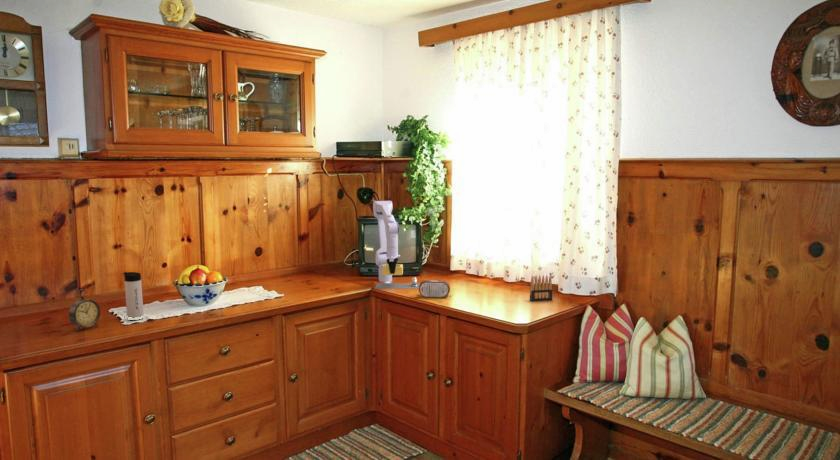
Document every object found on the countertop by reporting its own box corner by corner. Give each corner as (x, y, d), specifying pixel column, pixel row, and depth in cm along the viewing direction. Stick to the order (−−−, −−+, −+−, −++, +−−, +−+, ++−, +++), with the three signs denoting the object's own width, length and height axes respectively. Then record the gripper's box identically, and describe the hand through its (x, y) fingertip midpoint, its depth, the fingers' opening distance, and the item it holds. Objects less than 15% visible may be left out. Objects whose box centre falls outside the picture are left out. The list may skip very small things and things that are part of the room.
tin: (450, 296, 283) (450, 279, 282) (449, 298, 280) (449, 281, 279) (419, 296, 285) (418, 279, 284) (418, 297, 282) (418, 280, 281)
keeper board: (376, 285, 310) (376, 283, 310) (426, 285, 309) (426, 283, 309) (374, 290, 297) (374, 288, 297) (426, 290, 296) (426, 288, 296)
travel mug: (130, 317, 250) (126, 271, 247) (146, 316, 250) (143, 270, 248) (123, 321, 243) (120, 274, 241) (140, 320, 244) (137, 273, 241)
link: (383, 271, 307) (383, 264, 307) (403, 271, 307) (402, 264, 307) (382, 275, 297) (382, 267, 297) (402, 275, 297) (402, 267, 297)
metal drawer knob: (410, 285, 305) (410, 276, 304) (418, 285, 305) (418, 276, 304) (410, 286, 301) (410, 278, 300) (418, 286, 301) (418, 278, 300)
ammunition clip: (550, 299, 278) (551, 274, 276) (552, 300, 276) (553, 275, 274) (529, 300, 276) (529, 275, 274) (530, 301, 274) (531, 276, 272)
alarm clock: (76, 333, 227) (73, 292, 225) (67, 331, 229) (64, 291, 227) (102, 326, 237) (99, 286, 235) (93, 324, 239) (90, 285, 237)
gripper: (399, 248, 289) (399, 276, 291) (400, 244, 303) (401, 270, 305) (385, 248, 289) (385, 276, 291) (387, 244, 303) (387, 270, 305)
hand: (392, 273), depth 298 cm, fingers closed on link
